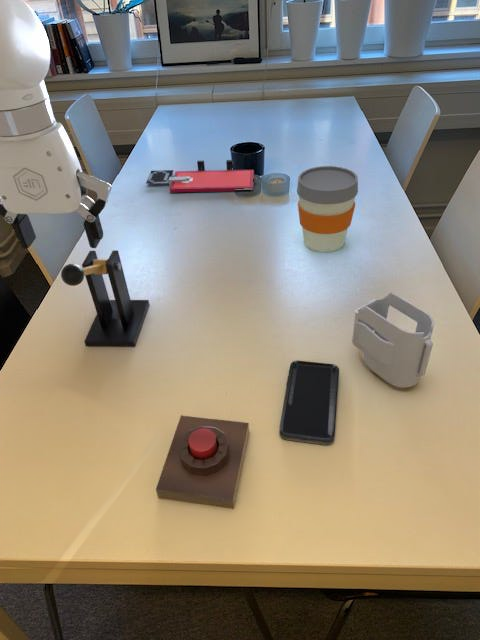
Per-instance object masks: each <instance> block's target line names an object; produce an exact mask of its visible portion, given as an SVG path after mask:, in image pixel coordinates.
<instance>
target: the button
mask: <svg viewBox="0 0 480 640" xmlns="http://www.w3.org/2000/svg"><path fill="white" fill-rule="evenodd" d="M189 447H190V452H191V454H192V455H193V456H194V457H195V458H198V459H207V458H209V457H211V456H213V455H214V454H215V452H216V450H217V442H216V436H215V434H214V433H213V432H212V431H211V430H208V429H198V430H196V431H194V432H193V433H192V434H191V435H190V437H189Z"/></svg>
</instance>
